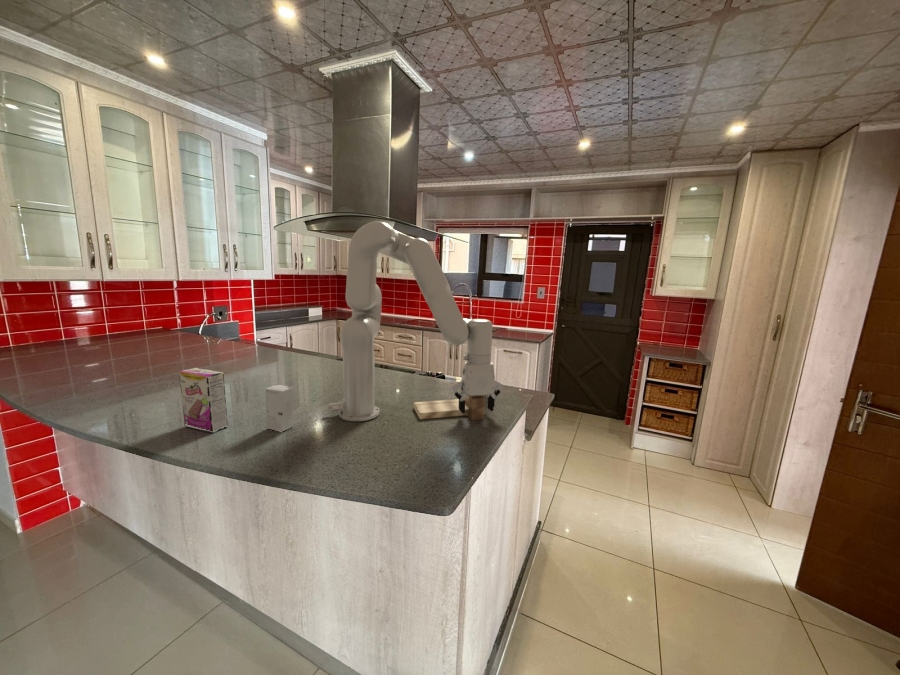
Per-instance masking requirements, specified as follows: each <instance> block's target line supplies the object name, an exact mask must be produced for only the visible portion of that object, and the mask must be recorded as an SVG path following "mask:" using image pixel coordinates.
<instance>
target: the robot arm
mask: <svg viewBox="0 0 900 675" xmlns="http://www.w3.org/2000/svg"><path fill="white" fill-rule="evenodd" d="M347 253H348V254H347V256H348V258H347V270H346V282H345V283H346V284H345V287H346V288H345V301H346V305H347V306H348V308H350V309H351V317H349V318H347V319H346V320H345V321H344V322H343V323H342V326H341V328H340V335H339V336H340V344H341V351H342V375H343V377H342V379H343V382H342V383H343V398H342V401H339V402H329V403H328V410H332V412H338V416H339V418H340V419H342V420H343V421H346V422H347V421H348V422H366V421H371V420H373V419H375V418H377V417H378V416H379V415H380V411H381V410H380V408H379V406H377V405H375V404H376V402H375V397H376V396H375V395H376V394H375V393H376V392H375V391H376V390H375V387H376V385H375V378H376V377H375V374H376V373H375V371H376V370H375V369H376V368H375V349H374V339H375V338H377V336H378V335H379V333H380V329H381V319H382V318H381V316H382V315H381V314H382V303H383V302H382V300H383V297H382V295H383V294H382V292H381V291H382V290H381V288H380V286H379V285H378V284H377V271H378V265H377V264H378V263H377V262H378V261H377V259H378V255H379V254H382V255H384V256H387V257H389V258H392V259H394V260H397V261H399V262H401V263H404V264H407V266H408V267H409V269H410V271H411V273H412V275H413V277H414V279H415V281H416V284H417V285H418V288H419V290H420V292H421V294H422V296H423V298H424V300H425V302H426V304H427V306H428V308H429V309H430V312H431V313H432V316H433V319H434V320H435V323H436V324H437V327H438V329H439V331H440V332H441V335H442V337H443V339H444V340H445V342H446V343H448V344H449V345H452V346H456V347H457V346H460V345H461V346H462V345H463V344H464V343H465V342H466V341H467V346H466V347H467V348H466V349H467V350H466V351H467V352H466V354H465V355H462V360H465V362H464V365H463V368H462V373H461V380H460V381H459V382H457V383H455V384H454V385H451V387H450V389H451V391H452V393H453V395H454V396H455V397H456V399H459V410H460V411H461V412H462V413H465V401H464V399H465V398H466V397H467V396H481V395H488V396H487V405H486V406H487V409H488V410H489V411H490V412H494V408H495V404H496V403H495V402H496V399H497V397H498V396H499V395H500V394H501V390H502V389H503V387H504V385H503V383H501V382H500V381H497V380H496V379H495V378H496V376H495V368H494V367H495V365H494V363H493V362H492V344H493V343H492V342H493V341H492V340H493V322H492V321H491V320H489V319H486V318H471V319H470V318H463V315H462V313H461V311H460V309H459V306H458V305H457V302H456V301H455V300H456V299H455V298H454V295H453V292H452V289H451V286H450V283H449V281H448V279H447V277H446V275H445V273H444V271H443V269H442V266H441V265H440V263H439V260H438V258H437V256H436V253H435V252H434V250H433V248H432V246H431V244H430V243H429V241H428V240H426V239H425V238H422V237H416V238H414V237H412V236H409V235H408V234H404V233H402V232H400V231H398V230H396V229H394V228H393V227H392V226H391V225H390V224H388V223H387V222H385V221H380V220H379V221H378V220H375V221H370V222H368V223H366V224H364V225H362V226H360V227H359V228H357V230H356V231H355V232H354V233H353V235H352V237H351V239H350V242H349V246H348V252H347ZM458 389H460V390H461V391H460V392H459V391H458Z"/></svg>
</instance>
